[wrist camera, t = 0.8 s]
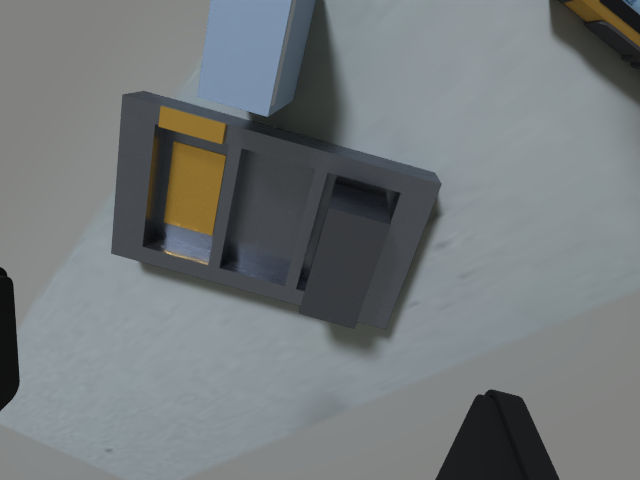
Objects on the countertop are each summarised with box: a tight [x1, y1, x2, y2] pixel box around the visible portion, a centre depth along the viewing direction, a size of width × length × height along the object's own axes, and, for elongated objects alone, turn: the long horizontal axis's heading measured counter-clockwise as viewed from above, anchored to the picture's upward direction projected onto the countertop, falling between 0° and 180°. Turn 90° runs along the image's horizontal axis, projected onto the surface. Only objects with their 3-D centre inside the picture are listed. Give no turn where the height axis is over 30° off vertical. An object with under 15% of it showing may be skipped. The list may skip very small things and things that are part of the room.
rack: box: [111, 91, 441, 329], centre depth 28 cm, size 11×20×7 cm, turn 75°
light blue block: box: [197, 0, 316, 117], centre depth 23 cm, size 7×4×8 cm, turn 165°
